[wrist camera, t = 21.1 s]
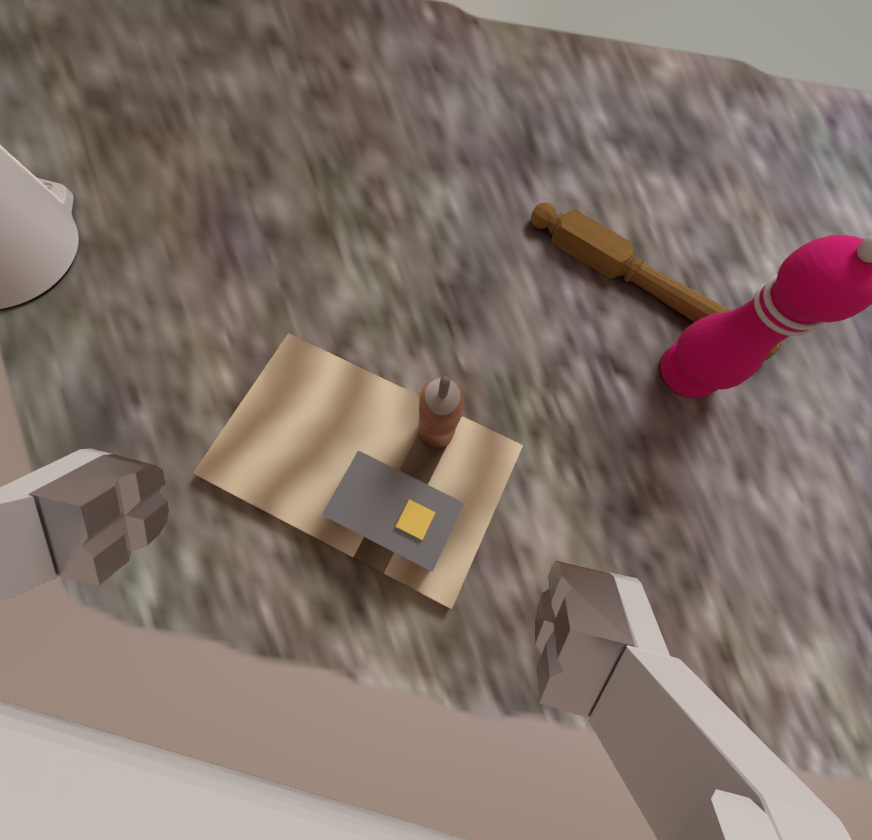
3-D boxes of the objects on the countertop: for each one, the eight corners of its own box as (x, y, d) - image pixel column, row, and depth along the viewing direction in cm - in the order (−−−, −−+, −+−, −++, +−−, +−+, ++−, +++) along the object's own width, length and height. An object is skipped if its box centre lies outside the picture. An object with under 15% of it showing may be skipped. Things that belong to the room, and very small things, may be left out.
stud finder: (330, 518, 37) (320, 514, 33) (362, 458, 39) (357, 449, 35) (430, 570, 36) (432, 572, 32) (459, 506, 38) (464, 502, 34)
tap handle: (776, 356, 43) (530, 208, 47) (753, 368, 46) (523, 228, 50) (787, 334, 43) (544, 191, 47) (764, 348, 46) (537, 212, 50)
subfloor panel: (199, 475, 39) (192, 473, 38) (291, 339, 43) (288, 333, 42) (450, 607, 36) (451, 609, 35) (519, 448, 41) (523, 445, 40)
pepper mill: (653, 337, 46) (824, 184, 27) (717, 345, 46) (935, 199, 27) (656, 398, 43) (845, 280, 24) (724, 407, 44) (965, 295, 24)
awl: (412, 439, 40) (411, 389, 27) (428, 409, 41) (433, 348, 28) (444, 454, 39) (457, 411, 27) (459, 424, 40) (479, 369, 28)
